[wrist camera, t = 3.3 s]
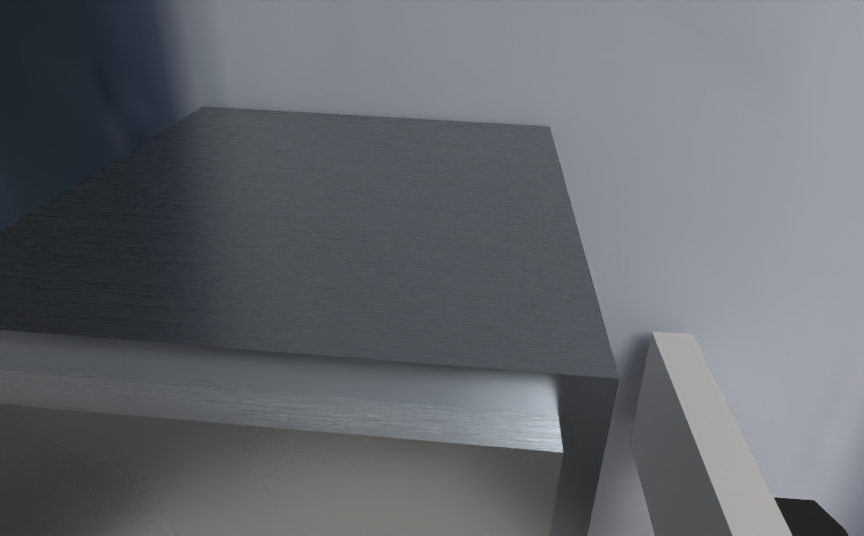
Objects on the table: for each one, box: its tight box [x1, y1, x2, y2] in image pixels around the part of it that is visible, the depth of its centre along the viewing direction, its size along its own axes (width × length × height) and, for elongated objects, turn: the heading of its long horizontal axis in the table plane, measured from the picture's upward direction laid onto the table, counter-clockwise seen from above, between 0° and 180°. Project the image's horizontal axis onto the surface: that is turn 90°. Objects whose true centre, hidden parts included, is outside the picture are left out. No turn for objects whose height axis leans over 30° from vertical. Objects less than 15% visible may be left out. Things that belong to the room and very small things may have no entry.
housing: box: [0, 107, 619, 536], centre depth 10 cm, size 10×6×7 cm, turn 178°
